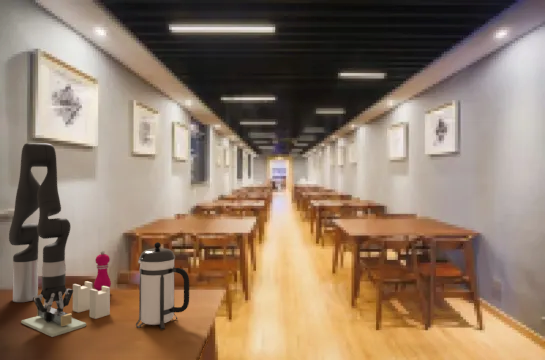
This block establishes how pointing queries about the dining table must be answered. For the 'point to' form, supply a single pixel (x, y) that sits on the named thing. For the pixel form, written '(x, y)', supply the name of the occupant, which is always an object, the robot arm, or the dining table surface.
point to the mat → (52, 326)
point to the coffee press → (159, 287)
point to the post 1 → (81, 297)
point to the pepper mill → (102, 271)
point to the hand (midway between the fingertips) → (53, 320)
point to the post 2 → (99, 302)
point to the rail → (58, 316)
